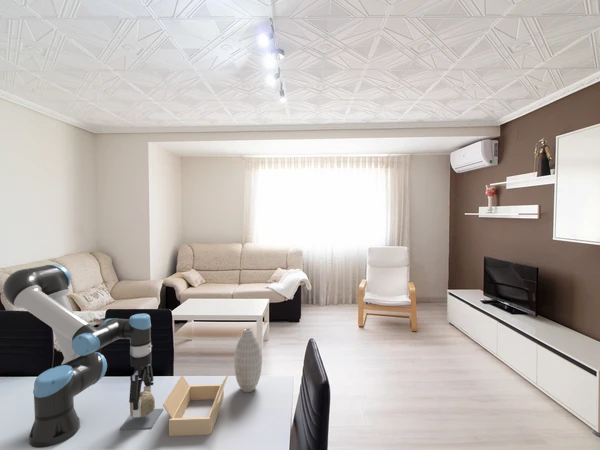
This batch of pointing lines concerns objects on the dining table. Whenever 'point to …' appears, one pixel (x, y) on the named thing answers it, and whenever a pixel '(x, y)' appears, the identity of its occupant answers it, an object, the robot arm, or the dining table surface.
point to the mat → (142, 421)
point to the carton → (180, 401)
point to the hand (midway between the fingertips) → (142, 409)
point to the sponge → (145, 404)
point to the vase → (247, 361)
